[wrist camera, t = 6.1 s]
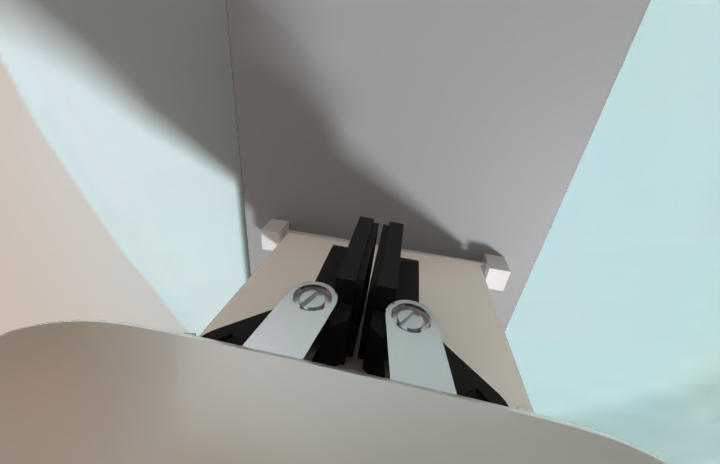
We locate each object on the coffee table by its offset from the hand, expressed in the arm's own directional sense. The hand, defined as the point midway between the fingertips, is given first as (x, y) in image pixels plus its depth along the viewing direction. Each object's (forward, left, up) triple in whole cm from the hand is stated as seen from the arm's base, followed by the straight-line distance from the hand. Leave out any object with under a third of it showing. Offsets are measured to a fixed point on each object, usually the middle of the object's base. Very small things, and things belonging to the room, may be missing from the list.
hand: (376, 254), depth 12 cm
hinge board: (+2, 0, -6) cm, 7 cm away
